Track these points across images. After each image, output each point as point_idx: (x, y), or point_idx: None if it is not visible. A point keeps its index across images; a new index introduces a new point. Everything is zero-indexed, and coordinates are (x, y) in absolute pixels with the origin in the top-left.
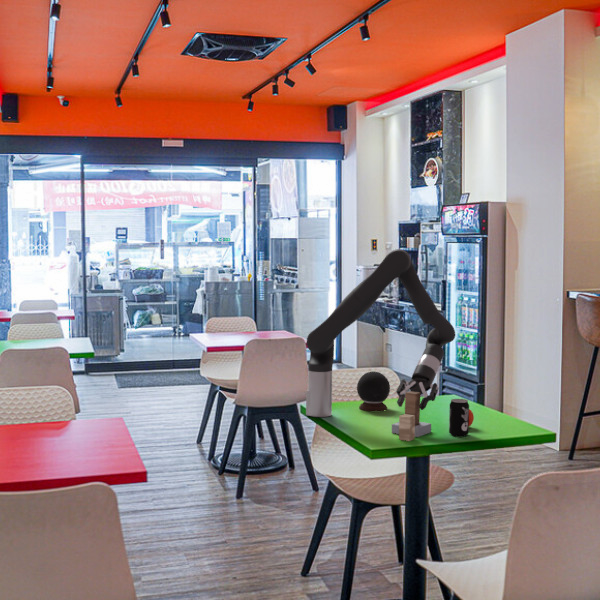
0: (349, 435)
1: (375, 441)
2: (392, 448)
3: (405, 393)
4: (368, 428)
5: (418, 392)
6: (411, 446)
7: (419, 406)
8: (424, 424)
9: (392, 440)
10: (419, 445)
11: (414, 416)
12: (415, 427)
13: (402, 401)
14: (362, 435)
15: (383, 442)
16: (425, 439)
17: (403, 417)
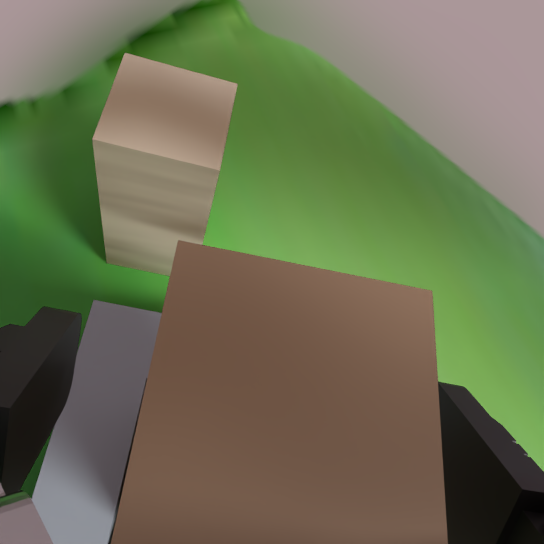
0: (492, 196)
1: (310, 124)
2: (167, 25)
3: (421, 297)
4: (535, 431)
5: (169, 525)
6: (74, 83)
7: (78, 315)
8: (63, 527)
9: (235, 174)
10: (27, 116)
11: (95, 137)
12: (122, 328)
13: (447, 487)
14: (442, 222)
15: (262, 117)
16: (15, 287)
17: (190, 78)
